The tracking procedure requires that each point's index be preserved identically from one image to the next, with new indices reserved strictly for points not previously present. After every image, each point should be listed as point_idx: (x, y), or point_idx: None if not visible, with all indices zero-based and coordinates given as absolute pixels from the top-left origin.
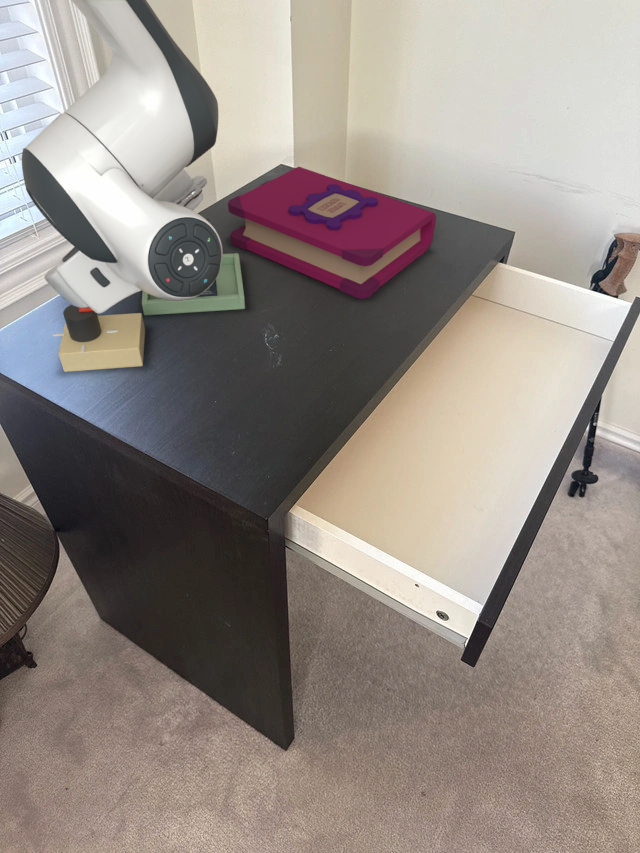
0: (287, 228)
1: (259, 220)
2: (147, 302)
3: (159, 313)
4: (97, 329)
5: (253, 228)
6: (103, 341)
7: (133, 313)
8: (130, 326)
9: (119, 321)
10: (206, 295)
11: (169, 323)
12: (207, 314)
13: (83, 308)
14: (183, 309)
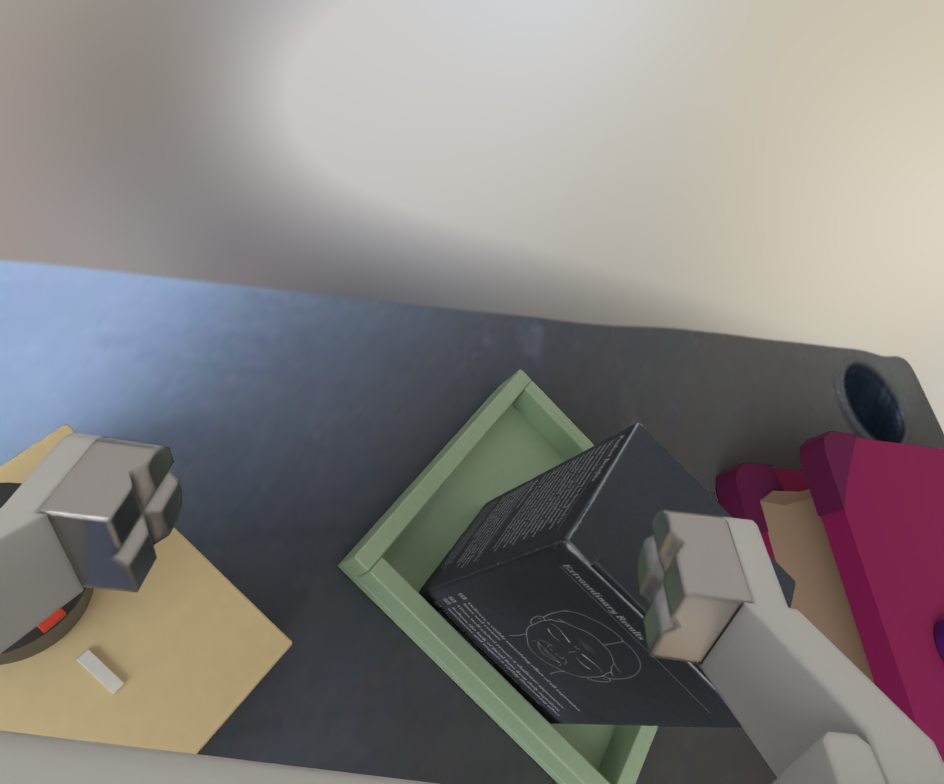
0: (908, 709)
1: (853, 577)
2: (372, 566)
3: (377, 604)
4: (24, 655)
5: (802, 533)
6: (3, 710)
7: (268, 620)
8: (185, 699)
9: (186, 624)
10: (537, 699)
11: (362, 679)
12: (484, 737)
13: None
14: (443, 663)
